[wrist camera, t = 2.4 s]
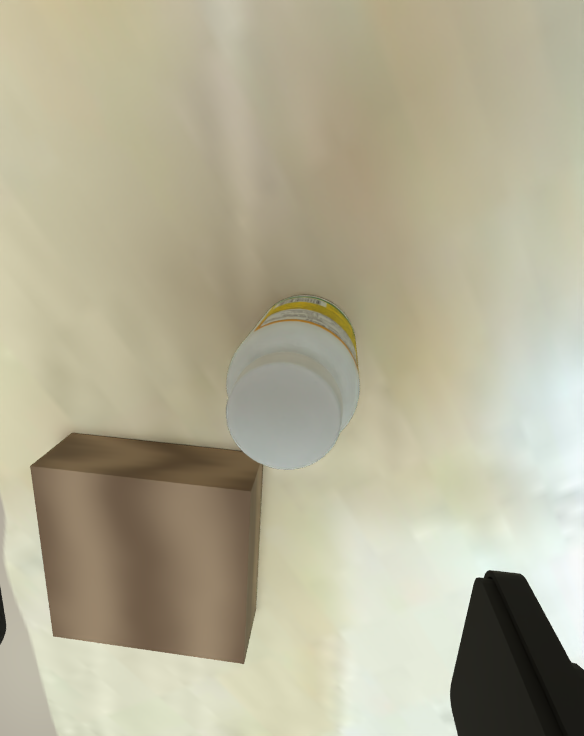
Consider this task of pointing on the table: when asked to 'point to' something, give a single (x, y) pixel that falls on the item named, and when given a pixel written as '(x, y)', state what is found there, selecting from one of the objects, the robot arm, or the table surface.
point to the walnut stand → (150, 544)
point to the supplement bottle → (293, 383)
